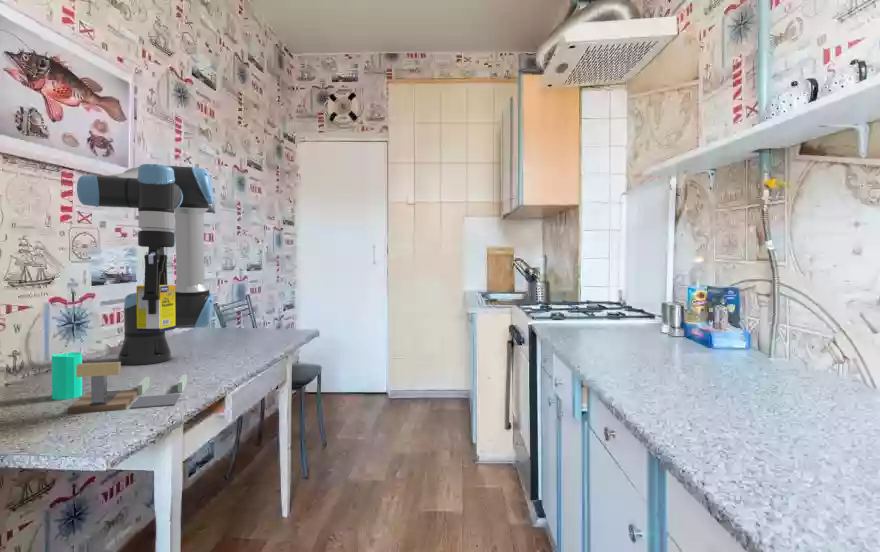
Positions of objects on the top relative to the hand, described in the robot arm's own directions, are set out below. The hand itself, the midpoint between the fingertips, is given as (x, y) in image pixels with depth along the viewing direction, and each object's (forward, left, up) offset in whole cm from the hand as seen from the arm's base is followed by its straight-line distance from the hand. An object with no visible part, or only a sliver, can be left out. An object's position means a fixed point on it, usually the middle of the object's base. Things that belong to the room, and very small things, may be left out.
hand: (156, 325), depth 117 cm
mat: (0, 0, -18) cm, 18 cm away
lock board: (-2, -11, -18) cm, 22 cm away
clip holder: (-12, 0, -18) cm, 22 cm away
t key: (+3, -11, -17) cm, 20 cm away
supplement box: (0, 0, -1) cm, 1 cm away
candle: (-11, -21, -19) cm, 31 cm away
